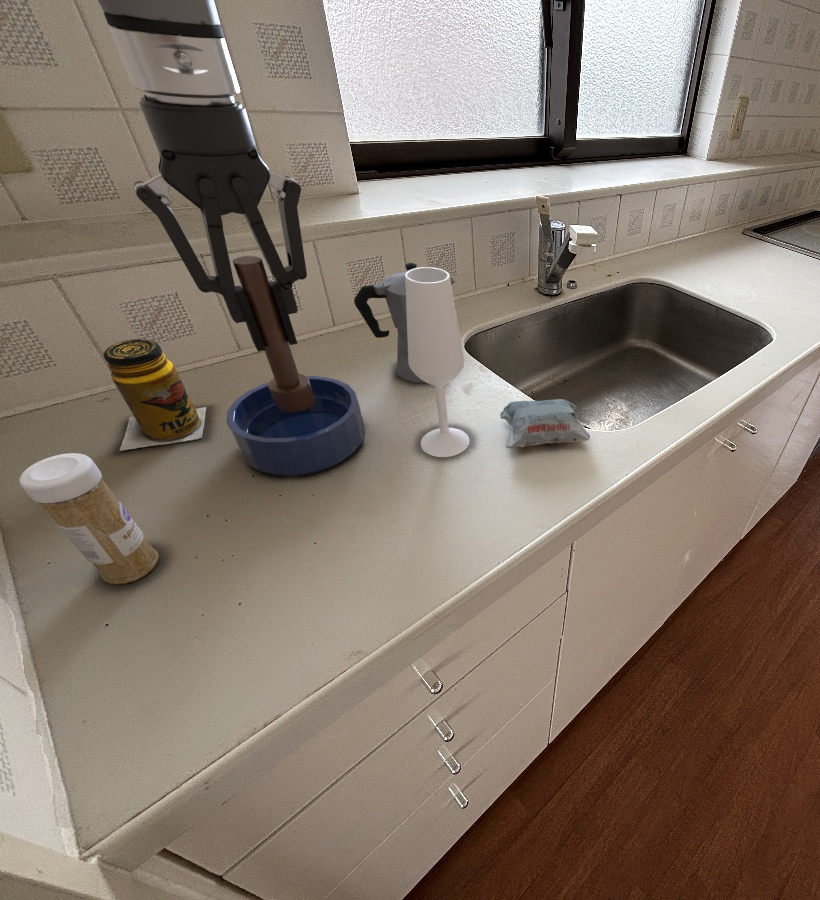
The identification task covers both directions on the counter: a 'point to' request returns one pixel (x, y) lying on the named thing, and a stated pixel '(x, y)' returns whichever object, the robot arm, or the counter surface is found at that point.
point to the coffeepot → (396, 301)
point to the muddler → (273, 338)
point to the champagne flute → (435, 349)
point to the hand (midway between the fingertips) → (275, 342)
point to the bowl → (297, 429)
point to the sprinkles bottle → (90, 516)
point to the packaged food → (542, 423)
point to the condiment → (152, 396)
